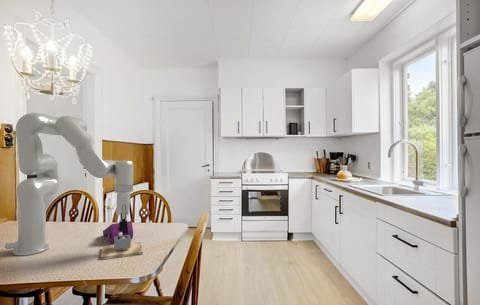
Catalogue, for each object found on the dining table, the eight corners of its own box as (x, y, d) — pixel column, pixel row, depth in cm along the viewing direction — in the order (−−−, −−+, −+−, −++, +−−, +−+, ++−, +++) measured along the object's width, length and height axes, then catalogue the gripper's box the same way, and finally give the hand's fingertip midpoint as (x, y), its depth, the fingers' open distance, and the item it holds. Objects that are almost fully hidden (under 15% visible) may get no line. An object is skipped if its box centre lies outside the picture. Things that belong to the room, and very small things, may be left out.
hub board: (100, 259, 107) (101, 244, 108) (102, 248, 120) (102, 235, 120) (142, 254, 114) (143, 240, 114) (140, 244, 127) (140, 231, 127)
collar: (114, 249, 113) (114, 240, 113) (114, 245, 119) (114, 236, 119) (130, 247, 116) (130, 238, 116) (129, 243, 121) (129, 234, 121)
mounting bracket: (102, 249, 136) (114, 241, 125) (100, 233, 139) (111, 224, 127) (121, 245, 143) (134, 237, 131) (119, 229, 145) (131, 220, 134)
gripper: (114, 187, 123) (113, 227, 122) (114, 190, 109) (113, 235, 109) (132, 186, 126) (131, 225, 126) (133, 190, 112) (133, 233, 112)
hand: (123, 230), depth 117 cm, fingers closed
